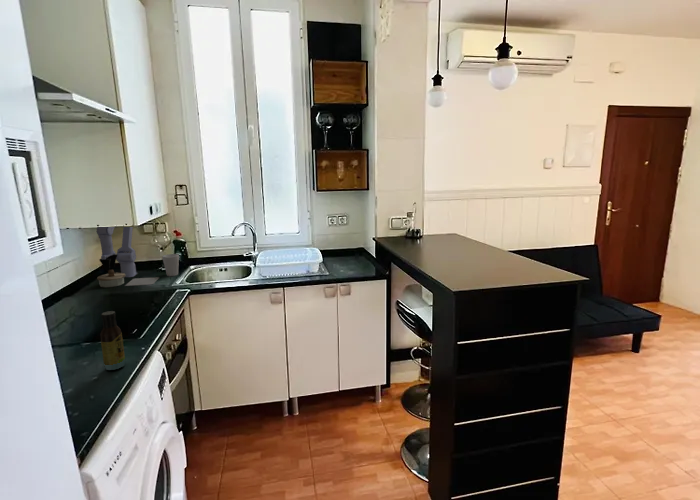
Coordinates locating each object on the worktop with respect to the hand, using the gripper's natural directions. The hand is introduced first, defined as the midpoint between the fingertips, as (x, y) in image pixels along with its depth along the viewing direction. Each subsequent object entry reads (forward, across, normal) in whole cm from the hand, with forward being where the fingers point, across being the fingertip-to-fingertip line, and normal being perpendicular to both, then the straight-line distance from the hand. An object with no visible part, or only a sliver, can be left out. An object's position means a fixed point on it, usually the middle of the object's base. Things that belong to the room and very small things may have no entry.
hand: (110, 268), depth 223 cm
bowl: (+10, 0, 0) cm, 10 cm away
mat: (+10, +2, -16) cm, 19 cm away
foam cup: (+10, +14, -30) cm, 35 cm away
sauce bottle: (+10, -106, -38) cm, 113 cm away
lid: (+5, 0, 0) cm, 5 cm away
